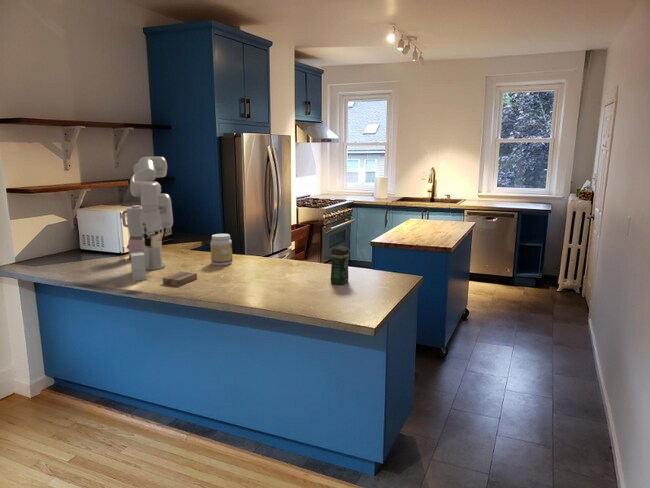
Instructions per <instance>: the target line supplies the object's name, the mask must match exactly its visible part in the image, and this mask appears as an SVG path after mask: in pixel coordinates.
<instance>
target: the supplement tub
mask: <svg viewBox="0 0 650 488" xmlns="http://www.w3.org/2000/svg"><path fill="white" fill-rule="evenodd" d="M232 241H233V240H232V239H231V235H230V234H229V233H216V234H212V235H211V240H210V243H209V244H210V261H211V262H210V263H211V264H212V265H213V266H222V267H223V266H229V265H231V264H233V242H232Z"/></svg>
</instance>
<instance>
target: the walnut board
mask: <svg viewBox="0 0 650 488" xmlns="http://www.w3.org/2000/svg"><path fill="white" fill-rule="evenodd" d="M196 280H198V274H197V273H196V272H188V271H178V272H175V273H173V274H170V275H168V276H165V277H162V285H167V286H174V287H181V286H183V285H186V284H188V283H191V282H193V281H196Z"/></svg>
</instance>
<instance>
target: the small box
mask: <svg viewBox="0 0 650 488" xmlns="http://www.w3.org/2000/svg"><path fill="white" fill-rule="evenodd" d="M130 265H131V267H130V268H131V277H132V281H133V282H137V281H144V280H147V272H146V271H147V270H146V267H145V255H144V253H143V252H138V253H131V259H130Z"/></svg>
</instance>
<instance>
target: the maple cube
mask: <svg viewBox="0 0 650 488" xmlns="http://www.w3.org/2000/svg"><path fill="white" fill-rule="evenodd" d="M147 235H148V234H147ZM150 239H151V246H145V238H143V242H144V248H153V249H154V248H157V247H161V248H162V247H163V242H162V233H161V234H152V233H151V234H150Z"/></svg>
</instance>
